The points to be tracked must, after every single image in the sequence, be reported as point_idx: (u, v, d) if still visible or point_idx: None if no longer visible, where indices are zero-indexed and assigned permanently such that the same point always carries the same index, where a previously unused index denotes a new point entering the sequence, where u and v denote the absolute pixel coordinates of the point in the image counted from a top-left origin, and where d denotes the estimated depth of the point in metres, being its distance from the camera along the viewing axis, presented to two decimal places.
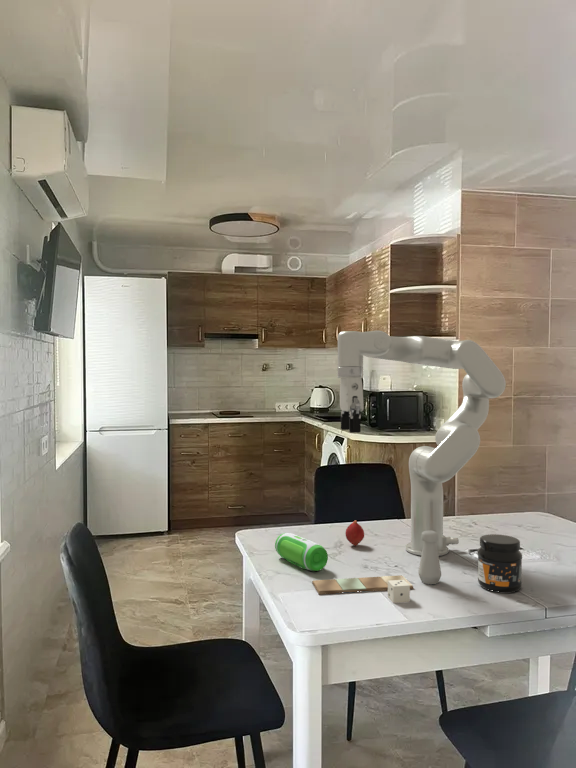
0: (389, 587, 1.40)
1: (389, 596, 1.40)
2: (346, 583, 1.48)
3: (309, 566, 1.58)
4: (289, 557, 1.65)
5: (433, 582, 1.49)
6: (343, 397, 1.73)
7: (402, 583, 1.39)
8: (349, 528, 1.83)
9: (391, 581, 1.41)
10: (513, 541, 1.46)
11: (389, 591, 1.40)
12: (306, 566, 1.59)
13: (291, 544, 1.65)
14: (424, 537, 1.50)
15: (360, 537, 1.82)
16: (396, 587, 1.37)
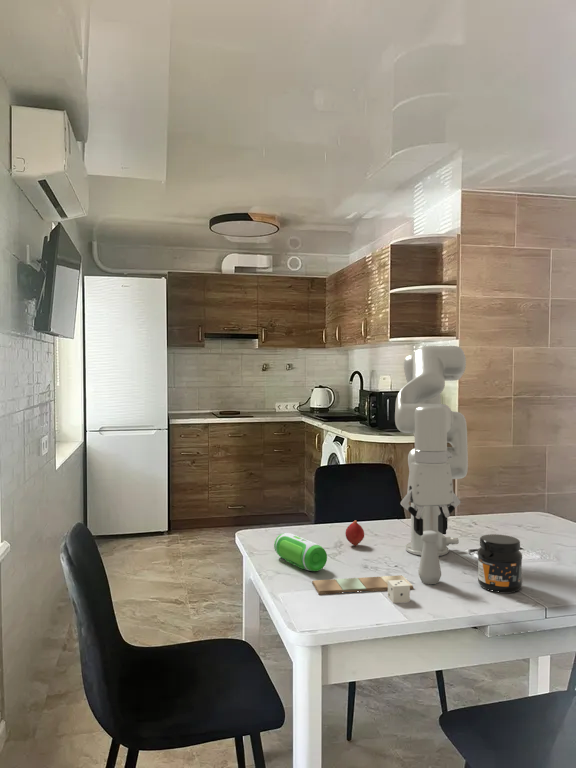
0: (389, 587, 1.40)
1: (389, 596, 1.40)
2: (346, 583, 1.48)
3: (308, 566, 1.58)
4: (288, 557, 1.65)
5: (433, 582, 1.49)
6: (439, 489, 1.38)
7: (402, 583, 1.39)
8: (349, 528, 1.83)
9: (391, 581, 1.41)
10: (513, 541, 1.46)
11: (389, 591, 1.40)
12: (305, 566, 1.59)
13: (290, 544, 1.65)
14: (424, 537, 1.50)
15: (360, 537, 1.82)
16: (396, 587, 1.37)
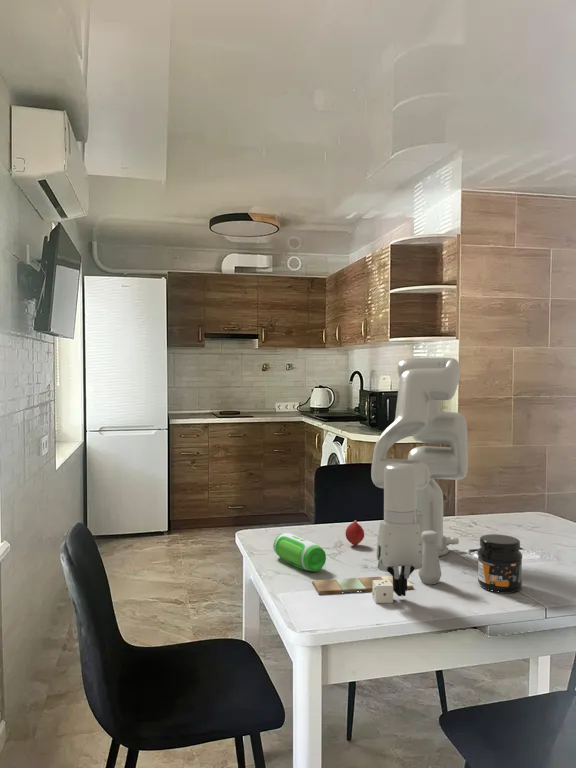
0: (373, 587, 1.40)
1: (373, 595, 1.40)
2: (346, 583, 1.48)
3: (307, 566, 1.58)
4: (287, 557, 1.65)
5: (433, 582, 1.49)
6: (408, 549, 1.37)
7: (386, 583, 1.39)
8: (349, 528, 1.83)
9: (376, 581, 1.40)
10: (513, 541, 1.46)
11: (373, 590, 1.40)
12: (304, 566, 1.58)
13: (289, 544, 1.65)
14: (424, 537, 1.50)
15: (360, 537, 1.82)
16: (379, 587, 1.37)
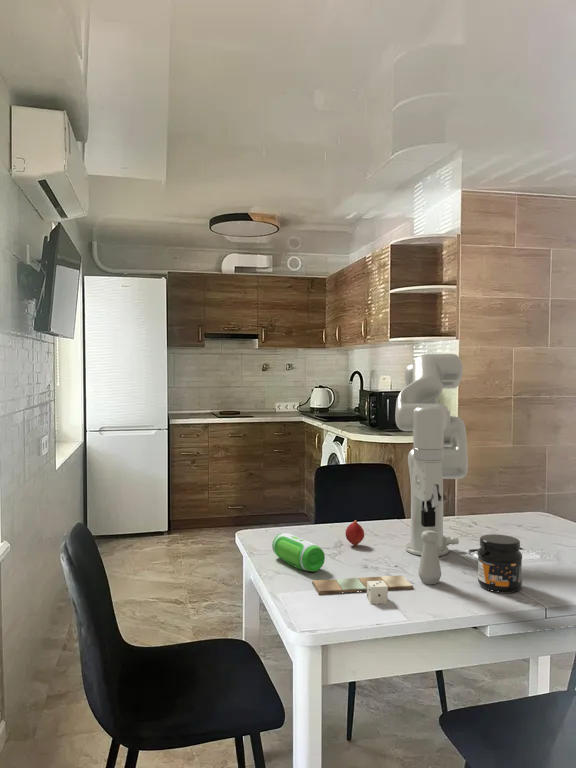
0: (368, 588, 1.40)
1: (368, 597, 1.40)
2: (346, 583, 1.48)
3: (306, 566, 1.57)
4: (286, 557, 1.65)
5: (433, 582, 1.49)
6: None
7: (380, 584, 1.39)
8: (349, 528, 1.83)
9: (370, 582, 1.40)
10: (513, 541, 1.46)
11: (368, 592, 1.40)
12: (303, 566, 1.58)
13: (288, 544, 1.65)
14: (424, 537, 1.50)
15: (360, 537, 1.82)
16: (374, 588, 1.37)
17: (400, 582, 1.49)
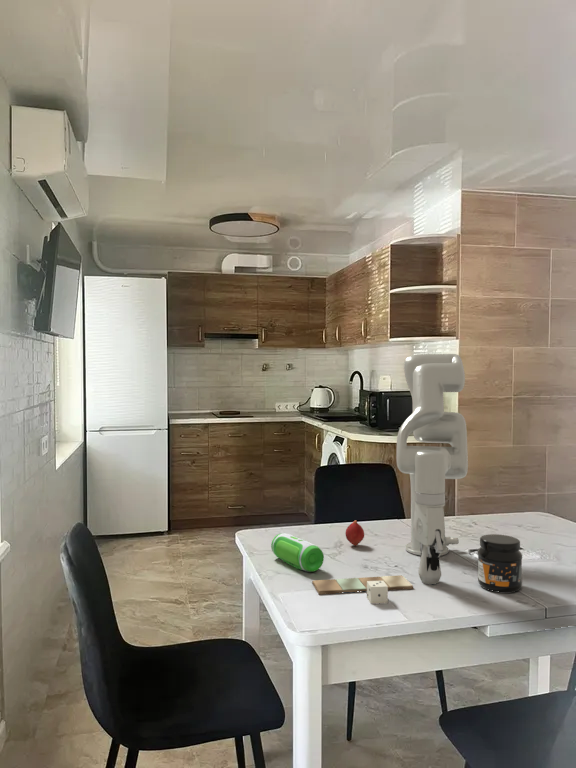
0: (368, 588, 1.40)
1: (368, 597, 1.40)
2: (346, 583, 1.48)
3: (305, 567, 1.57)
4: (285, 558, 1.65)
5: (433, 582, 1.49)
6: None
7: (380, 584, 1.39)
8: (349, 528, 1.83)
9: (370, 582, 1.40)
10: (513, 541, 1.46)
11: (368, 592, 1.40)
12: (302, 567, 1.58)
13: (287, 545, 1.65)
14: None
15: (360, 537, 1.82)
16: (374, 588, 1.37)
17: (400, 582, 1.49)
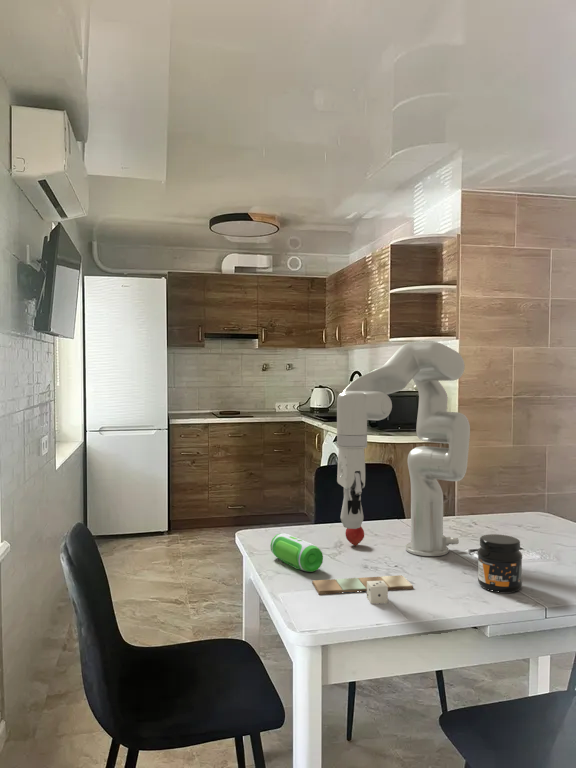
0: (367, 588, 1.40)
1: (368, 597, 1.40)
2: (346, 583, 1.48)
3: (304, 567, 1.57)
4: (284, 558, 1.65)
5: (354, 526, 1.46)
6: None
7: (380, 584, 1.39)
8: None
9: (370, 582, 1.40)
10: (513, 541, 1.46)
11: (368, 592, 1.40)
12: (301, 567, 1.58)
13: (286, 545, 1.65)
14: None
15: (360, 537, 1.82)
16: (374, 588, 1.37)
17: (400, 582, 1.49)
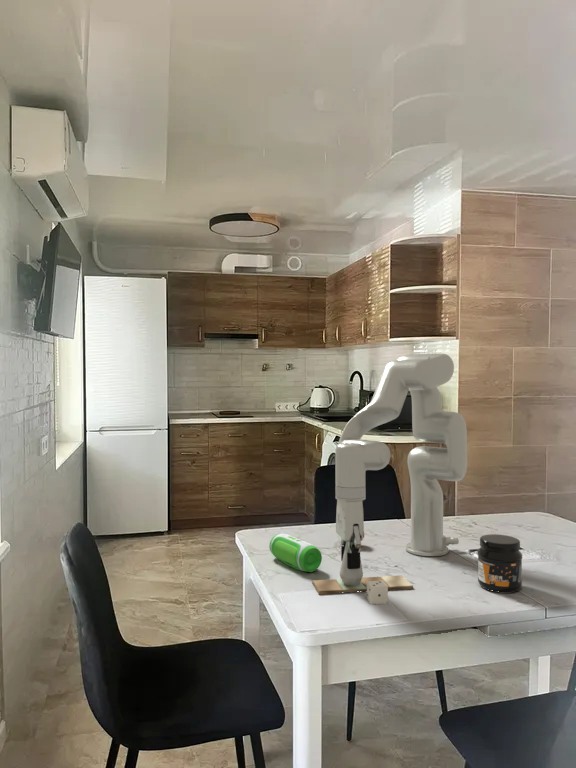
0: (367, 588, 1.40)
1: (368, 597, 1.40)
2: None
3: (303, 567, 1.57)
4: (283, 558, 1.65)
5: (353, 583, 1.46)
6: None
7: (380, 584, 1.39)
8: None
9: (370, 582, 1.40)
10: (513, 541, 1.46)
11: (368, 592, 1.40)
12: (300, 567, 1.58)
13: (285, 545, 1.65)
14: None
15: None
16: (374, 588, 1.37)
17: (400, 582, 1.49)
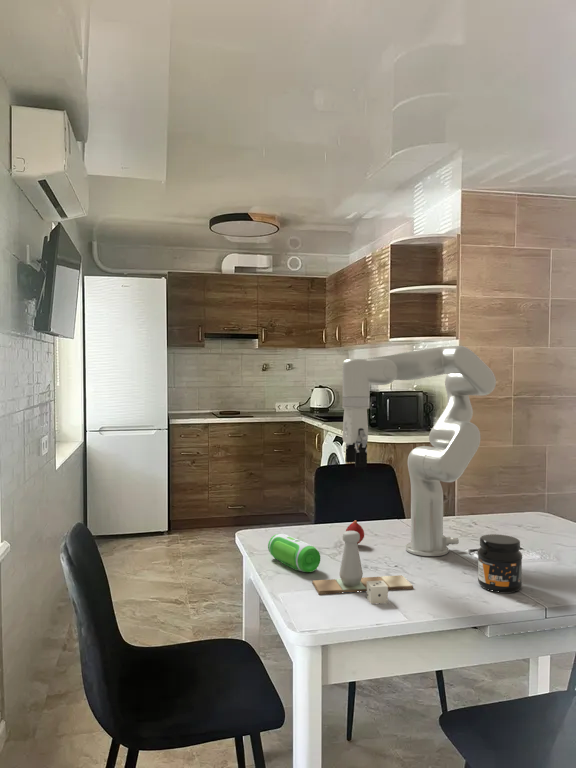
0: (368, 588, 1.40)
1: (368, 597, 1.40)
2: None
3: (301, 567, 1.57)
4: (282, 558, 1.65)
5: (353, 583, 1.46)
6: None
7: (380, 584, 1.39)
8: (349, 528, 1.83)
9: (370, 582, 1.40)
10: (513, 541, 1.46)
11: (368, 592, 1.40)
12: (298, 567, 1.58)
13: (283, 545, 1.64)
14: (345, 537, 1.47)
15: (360, 537, 1.82)
16: (374, 588, 1.37)
17: (400, 582, 1.49)
